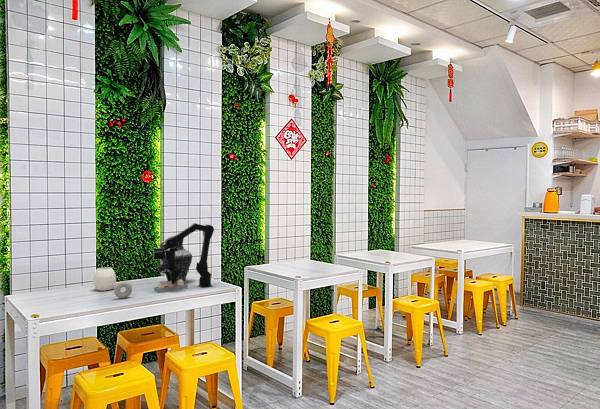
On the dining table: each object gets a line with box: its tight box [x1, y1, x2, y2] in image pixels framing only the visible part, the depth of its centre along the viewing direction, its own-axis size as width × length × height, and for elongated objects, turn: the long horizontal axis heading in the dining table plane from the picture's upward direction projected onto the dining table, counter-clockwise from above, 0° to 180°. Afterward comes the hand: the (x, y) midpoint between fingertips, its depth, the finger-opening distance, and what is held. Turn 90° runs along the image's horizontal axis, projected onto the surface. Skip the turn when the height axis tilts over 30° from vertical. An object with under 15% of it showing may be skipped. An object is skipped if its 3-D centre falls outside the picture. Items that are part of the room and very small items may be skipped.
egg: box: [167, 281, 175, 287], centre depth 303 cm, size 4×4×5 cm
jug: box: [159, 238, 193, 284], centre depth 325 cm, size 21×19×30 cm
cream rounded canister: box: [92, 266, 117, 292], centre depth 305 cm, size 13×13×14 cm
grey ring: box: [113, 280, 133, 299], centre depth 280 cm, size 10×4×10 cm, turn 121°
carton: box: [153, 279, 189, 293], centre depth 303 cm, size 19×7×6 cm, turn 128°
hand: (171, 283), depth 303 cm, fingers open, 5 cm apart
